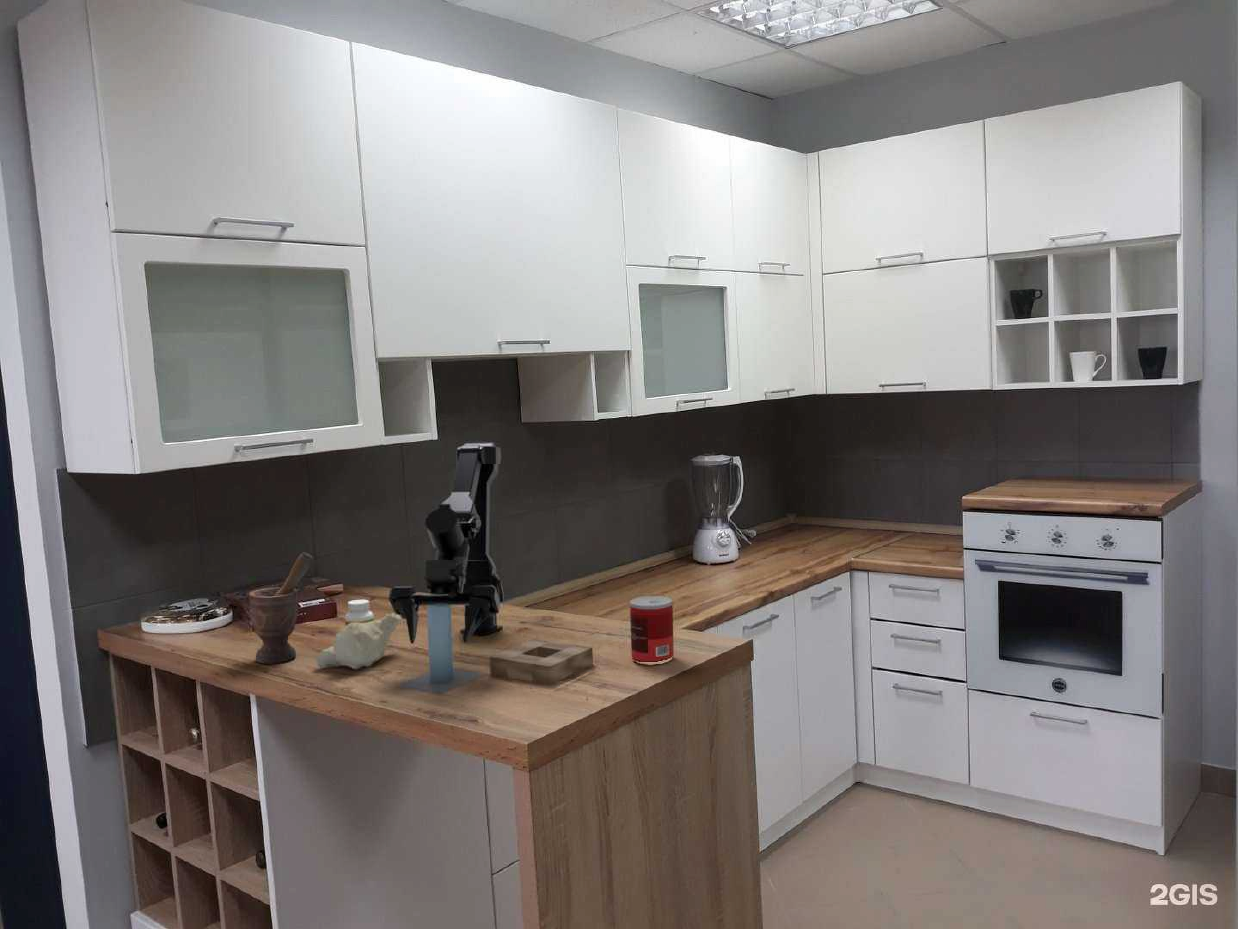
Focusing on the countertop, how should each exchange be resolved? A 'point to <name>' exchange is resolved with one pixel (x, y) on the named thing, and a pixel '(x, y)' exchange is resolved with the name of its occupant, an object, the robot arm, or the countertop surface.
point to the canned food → (651, 628)
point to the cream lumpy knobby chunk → (359, 643)
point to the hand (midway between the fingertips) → (438, 642)
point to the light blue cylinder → (440, 643)
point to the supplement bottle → (358, 612)
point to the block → (541, 661)
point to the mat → (439, 688)
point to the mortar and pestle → (277, 614)
